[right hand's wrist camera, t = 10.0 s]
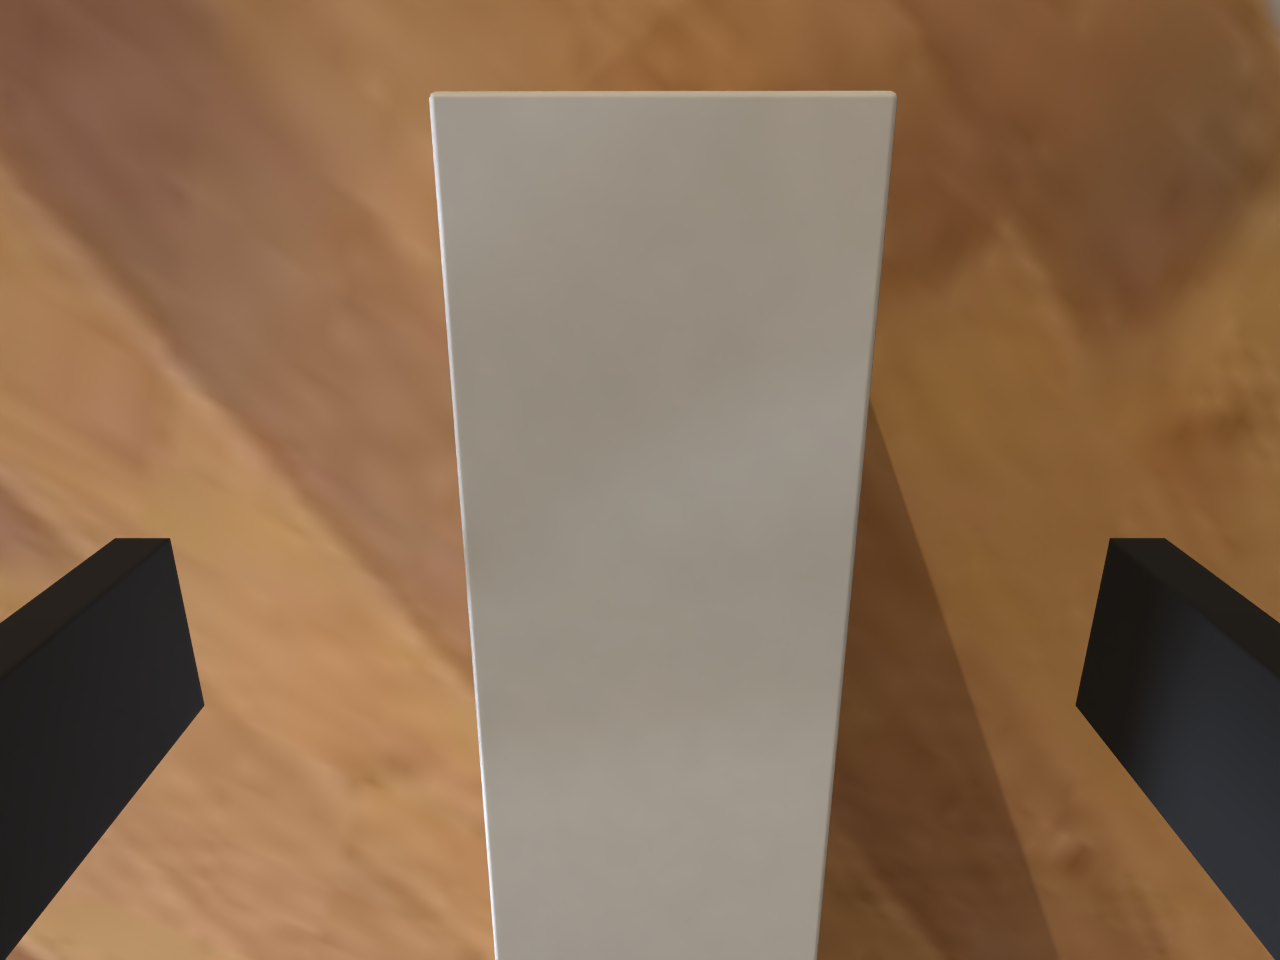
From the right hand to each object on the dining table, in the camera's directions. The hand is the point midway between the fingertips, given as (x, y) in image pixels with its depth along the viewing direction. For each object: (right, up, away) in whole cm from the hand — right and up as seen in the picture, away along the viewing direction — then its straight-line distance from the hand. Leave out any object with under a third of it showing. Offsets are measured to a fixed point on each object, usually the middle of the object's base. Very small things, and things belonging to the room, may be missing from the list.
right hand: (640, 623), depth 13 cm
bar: (0, -20, +14) cm, 24 cm away
